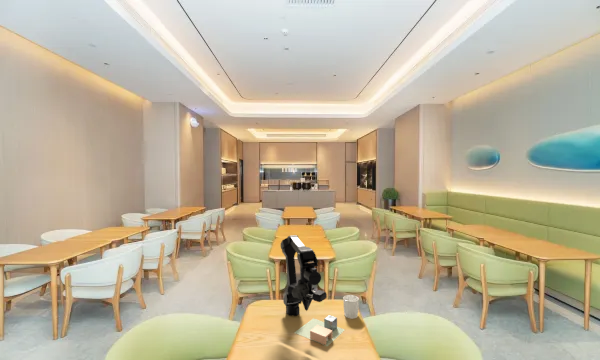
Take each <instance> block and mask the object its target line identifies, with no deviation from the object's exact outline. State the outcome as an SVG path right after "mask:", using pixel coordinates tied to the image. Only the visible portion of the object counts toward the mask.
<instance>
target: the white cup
mask: <svg viewBox="0 0 600 360" xmlns="http://www.w3.org/2000/svg"><path fill="white" fill-rule="evenodd" d="M342 299H343V300H342V301H343V302H342V303H343V313H344V317H345V318H347V319H351V320H352V319H357V318H358V315H359V314H358V313H359V306H360V305H359V303H360V302H359V301H360V299H359V297H358V296H357V295H354V294H346V295H344V296H343V297H342Z"/></svg>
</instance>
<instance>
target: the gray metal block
mask: <svg viewBox="0 0 600 360" xmlns="http://www.w3.org/2000/svg"><path fill="white" fill-rule="evenodd" d="M323 322H324V328H327V329H330V330H332V332H333V331H334V330H335V329H336V328H337V327H338V317H336V316H334V315H330V314H329V315H327V316H325V318H324V319H323Z"/></svg>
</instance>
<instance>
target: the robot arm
mask: <svg viewBox="0 0 600 360" xmlns="http://www.w3.org/2000/svg"><path fill="white" fill-rule="evenodd" d="M280 249H281V252H282V254H283V255H284V257H285V266H286V277H287V286H286V289H285V294H284V296H283V298H282V300H283V304H284V305H285V313H286V314H287V316H289V317H290V316H292V317H299V315H300V305H301V304H303V307H304V310H305V311H306V312H307V311H308V310H309V308H310V306H311V303H312V301H315V302H318V303H321V302H323V301H324V300H326V299H327V298H328V297H327V295H328V294H327V292H326V291H325V290H321V289H318V290H317V291H315V290H314V289H315V286H316V285H319V284H320V282H321V280H322V276H321V273H320V272H319V271H318V269H317V268H316V267H318V266H319V265H318V263H319V262H318V261H319V260H318V258H317V255H316V252H315V251H314V250H313V249H312V248H311V247H310V246H305V244H304V243H303V242H302V241H301V239H300V238H299V236H298V235H296V234H294V235H288V236H287V237H286V238H284V239H282V241H281V242H280ZM295 255H296V258H297V261H298V263H299V279H298V281H297V272H296V271H297V270H296V262H295V260H296V259H295Z"/></svg>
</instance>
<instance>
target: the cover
mask: <svg viewBox="0 0 600 360" xmlns="http://www.w3.org/2000/svg"><path fill="white" fill-rule="evenodd" d="M326 337H328V338H330V339H332V330H330V329H327V328H324V327H322V326H319V325H317V326H315V327H314V328H313V329H312V330H310V339H309V340H311V339H312V340H311V341H313V340H315V341H317V342H316V343H318V342H320V343H322V344H321V345H323V344H324V345H323V346H325V345H326ZM315 341H314V342H315ZM320 343H319V344H320Z"/></svg>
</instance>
